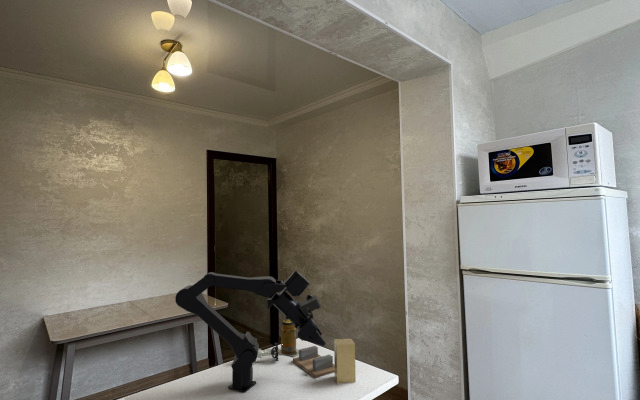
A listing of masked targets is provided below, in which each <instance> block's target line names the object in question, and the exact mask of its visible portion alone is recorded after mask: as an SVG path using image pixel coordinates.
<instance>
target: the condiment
mask: <svg viewBox="0 0 640 400" xmlns="http://www.w3.org/2000/svg"><path fill="white" fill-rule="evenodd" d="M282 344H283V345H282ZM299 350H300V349H298V348H297V329H296V328H295V327H294V324H293V323H292V322H291V321H290V320H289V319H288V320H287V319H284V320H283V321H282V322H281V329H280V350H278V355H284V356H289V357H293V358H296V357H298V356H299Z"/></svg>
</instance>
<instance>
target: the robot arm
mask: <svg viewBox="0 0 640 400" xmlns="http://www.w3.org/2000/svg"><path fill="white" fill-rule="evenodd" d="M310 285H311V282H310V281H309V280H308V279H307V278H306V277H305V276H304V275H302V274H301V273H300V272H298V271H297V269H294V270H293V272H292V273H291V275H290V276H288V278H287V279H286V280H280V279H275V278H274V277H273V276H271V275H270V276H269V275H267V276H256V277H255V276H254V277H247V276H246V277H245V276H241V275H240V276H239V275H230V274H222V273H216V272H213V271H211V272H208V273H206V274H205V275H203V277H202V278H201V279H199V280H197V282H195V283H194V284H191V285H190V284H189V285H186V286H184V287H183V288H182V289H180V290H179V291H177V293H176V294H175V300H174V301H175V304H176V305H177V306H178V307H179V308H181V309H182V310H184V311H186V312H189V313H191V314H192V315H196V316H197V317H199V318H200V319H201V320H202V321H203V322H204V323H205V324H206V325H207V326H209V327H210V328H211V329H212V330H213V331H214V332H215V333H216V334H218V335H219V337H221V338H222V339H223V340H224V341H226V343H227V344H228V345H229V346H230V348H231V350H232V351H233V353H234V358H233V360H232V363H231V371H232V373H231V374H232V375H231V376H232V377H231V380H232V381H231V382H232V384H229V385H228V387H227V388H228V390H233V391H238V392H241V393H247V391H249V390H250V389H251V388H252V387H254V386H255V385H257V380H256V381H255V380H253V379H254V375H253V373H254V372H253V371H254V370H253V369H254V367H253V365H252V363H253V362H255V360H256V361H257V358H258V357H257V356H258V350H259V349H260V347H259V346H260V345H259V342H258V339H257V338H256V337H254V336H253V335H252V334H251V332H250V331H247V330H246V333H245V334H244V333H243V332H239V331H238V329H236V328H235V327H234V326H233V325H232V324H231V323H230V322H229V321H228V320H226V319H225V317H223V316H222V315H221V314H220V313H218V312H217V311H216V310H215V308H213V307H212V306H211V305H210V304H209V303H208V302H207V299H206V298H205V296H204V294H203V293H204V292H205V291H206V290H207V289H209V288H211V287H214V288H223V289H230V290H232V289H233V290H240V291H247V292H250V293H252V294H255V295H256V296H261V297H264V298H267V299H266V302H267V309H271V307H272V306H274V307H275V308H276V309H277V310H278V311H280V312H281V314H283V316H284V318H285V320H290V321H291V322H292V323H293V324H294V327H295V328H296V335H297V338H299V339H300V340H301V341H302V342H303V341H304V342H310V343H313V344H316V345H319V346H322V347H325V345H326V341H325V340H324V339H323V337H322V334H323V333H322V330H320V328H319V327H318V325H317V322H316V321H315V320H314V314H313V312H314V311H315V310H319V309H320V308H322V304H321V303H320V301H319V299H318V297H317V295H311V294H310V293H309V294H307V295H305V300H303V301H302V302H300V301H298V300H296V299H295V298H293V297H300V296H301V295H302V293H304V292H305V291H306V290H307V289H308V287H309V286H310Z"/></svg>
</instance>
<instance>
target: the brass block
mask: <svg viewBox="0 0 640 400" xmlns="http://www.w3.org/2000/svg"><path fill="white" fill-rule="evenodd" d="M333 343H334V344H333V345H334V346H333V347H334V348H333V351H334V353H333V355H334V357H333V362H334V363H333V364H334V365H335V372H334V378H335V381H336V384H347V383H348V384H350V383H351V384H352V383H356V380H357V379H356V343H355V341H354V340H353V339H352V338H336V339H334V340H333Z"/></svg>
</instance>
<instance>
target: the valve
mask: <svg viewBox="0 0 640 400" xmlns="http://www.w3.org/2000/svg"><path fill="white" fill-rule="evenodd" d="M278 352H279V343H278V342H275V343H274V346H273V347H272V348H271V349H270V350H269V349H265V350H262V348H259V350H258V356H257V358H258V359H261V358H262V356H269V355H271V356H272V359H275V360H274V361H275V362H279V354H278ZM256 363H257V359H256V360H255V362H253V363H252V366H253V365H256Z"/></svg>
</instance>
